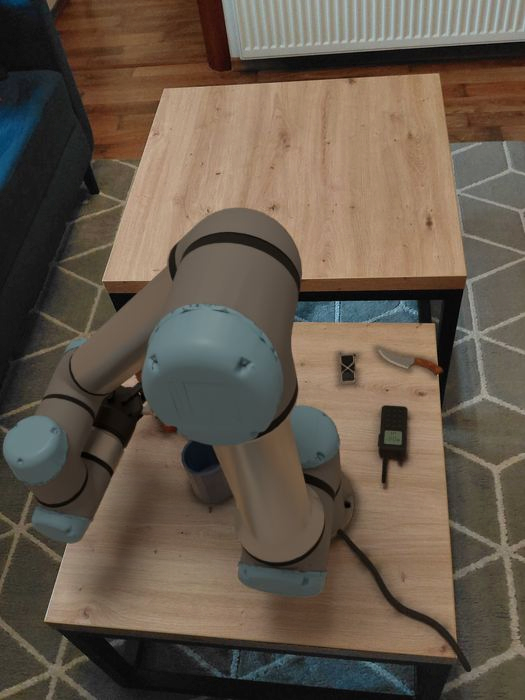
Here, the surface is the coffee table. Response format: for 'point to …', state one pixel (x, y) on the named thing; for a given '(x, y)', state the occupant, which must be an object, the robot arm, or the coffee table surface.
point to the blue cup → (205, 472)
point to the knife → (410, 362)
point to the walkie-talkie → (392, 435)
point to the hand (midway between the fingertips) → (159, 326)
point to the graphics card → (348, 368)
